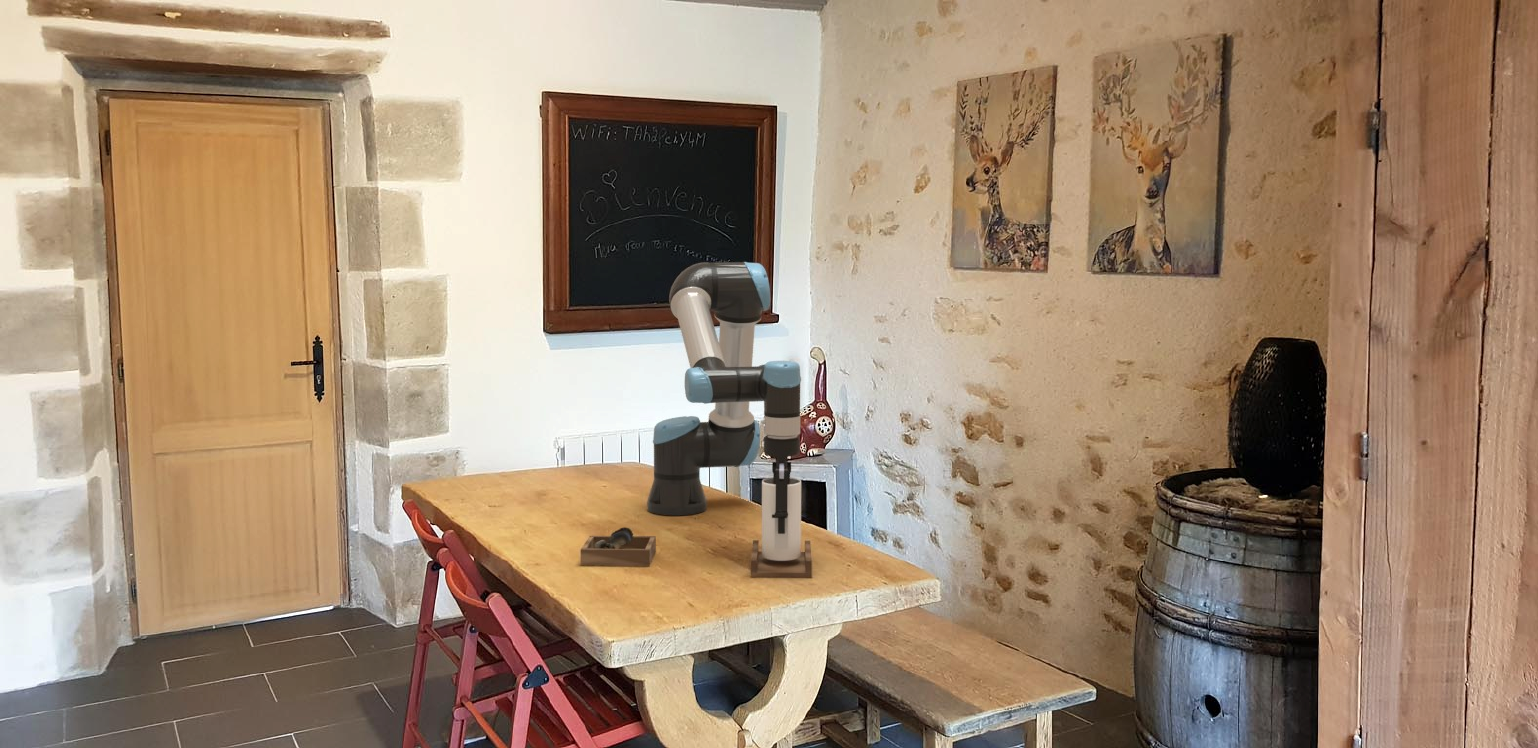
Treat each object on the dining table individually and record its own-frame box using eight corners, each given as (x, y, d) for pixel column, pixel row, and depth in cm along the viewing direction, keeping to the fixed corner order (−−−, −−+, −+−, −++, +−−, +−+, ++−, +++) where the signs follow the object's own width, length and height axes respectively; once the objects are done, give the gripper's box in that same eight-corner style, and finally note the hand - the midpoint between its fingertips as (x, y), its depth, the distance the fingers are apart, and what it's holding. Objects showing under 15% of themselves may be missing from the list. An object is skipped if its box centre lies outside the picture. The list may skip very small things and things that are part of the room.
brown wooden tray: (753, 555, 248) (753, 540, 248) (810, 556, 248) (810, 540, 248) (750, 577, 232) (750, 560, 232) (811, 577, 232) (811, 561, 232)
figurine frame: (590, 551, 252) (589, 535, 251) (655, 551, 251) (655, 536, 251) (580, 566, 240) (580, 549, 240) (649, 566, 240) (649, 550, 240)
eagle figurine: (634, 559, 241) (641, 541, 250) (614, 533, 240) (622, 515, 248) (605, 577, 243) (613, 557, 251) (585, 551, 241) (594, 532, 250)
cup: (768, 562, 235) (768, 485, 233) (757, 551, 243) (757, 477, 241) (805, 559, 237) (806, 483, 235) (793, 549, 245) (794, 475, 243)
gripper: (764, 427, 248) (764, 529, 250) (762, 444, 227) (762, 556, 229) (799, 427, 247) (798, 529, 250) (800, 444, 227) (799, 556, 229)
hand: (781, 542), depth 240 cm, fingers closed on cup, 8 cm apart
